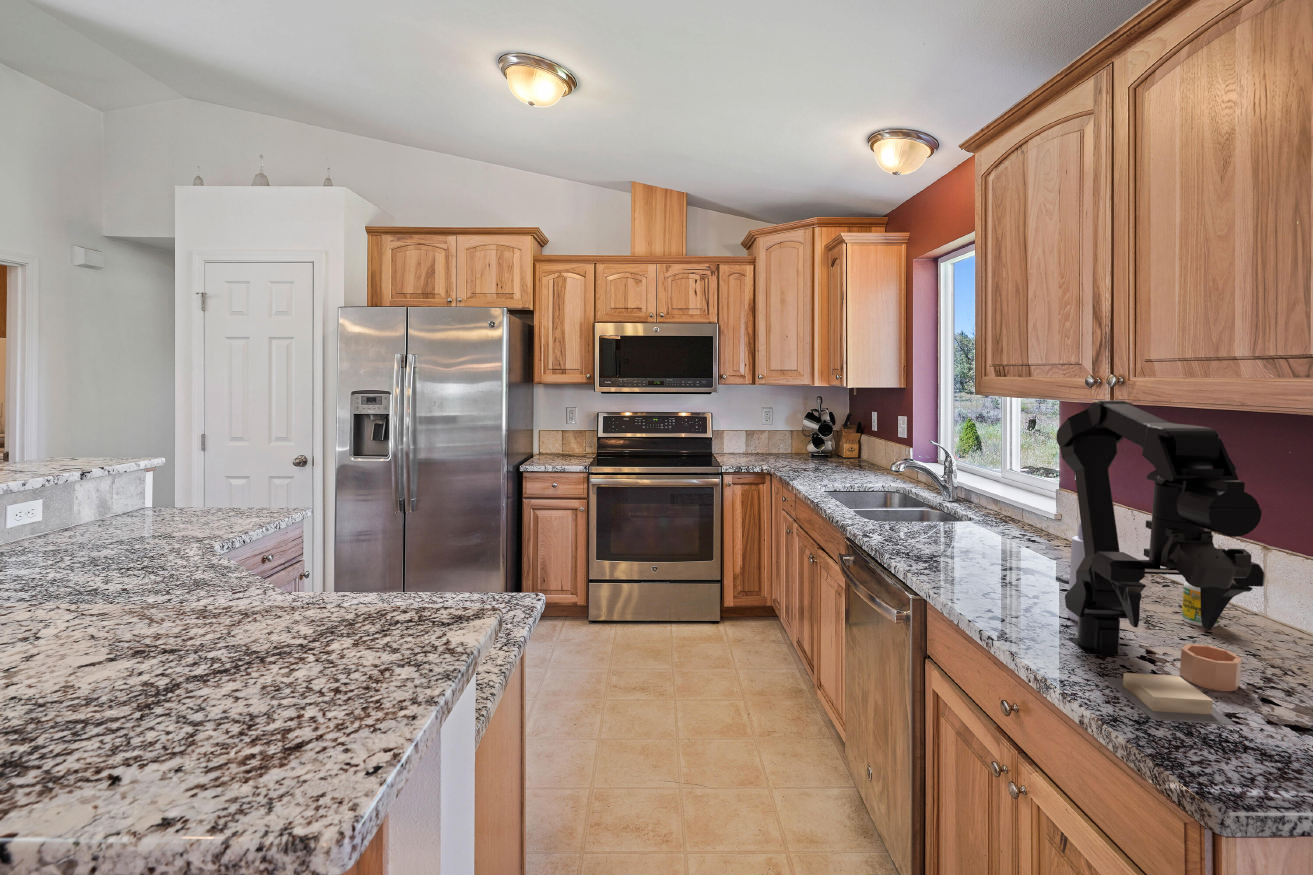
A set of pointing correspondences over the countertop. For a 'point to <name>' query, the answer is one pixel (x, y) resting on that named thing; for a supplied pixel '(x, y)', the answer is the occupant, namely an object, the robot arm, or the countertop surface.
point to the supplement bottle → (1192, 605)
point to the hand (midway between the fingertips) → (1170, 627)
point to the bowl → (1210, 667)
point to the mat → (1170, 716)
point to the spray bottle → (1075, 562)
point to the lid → (1167, 693)
